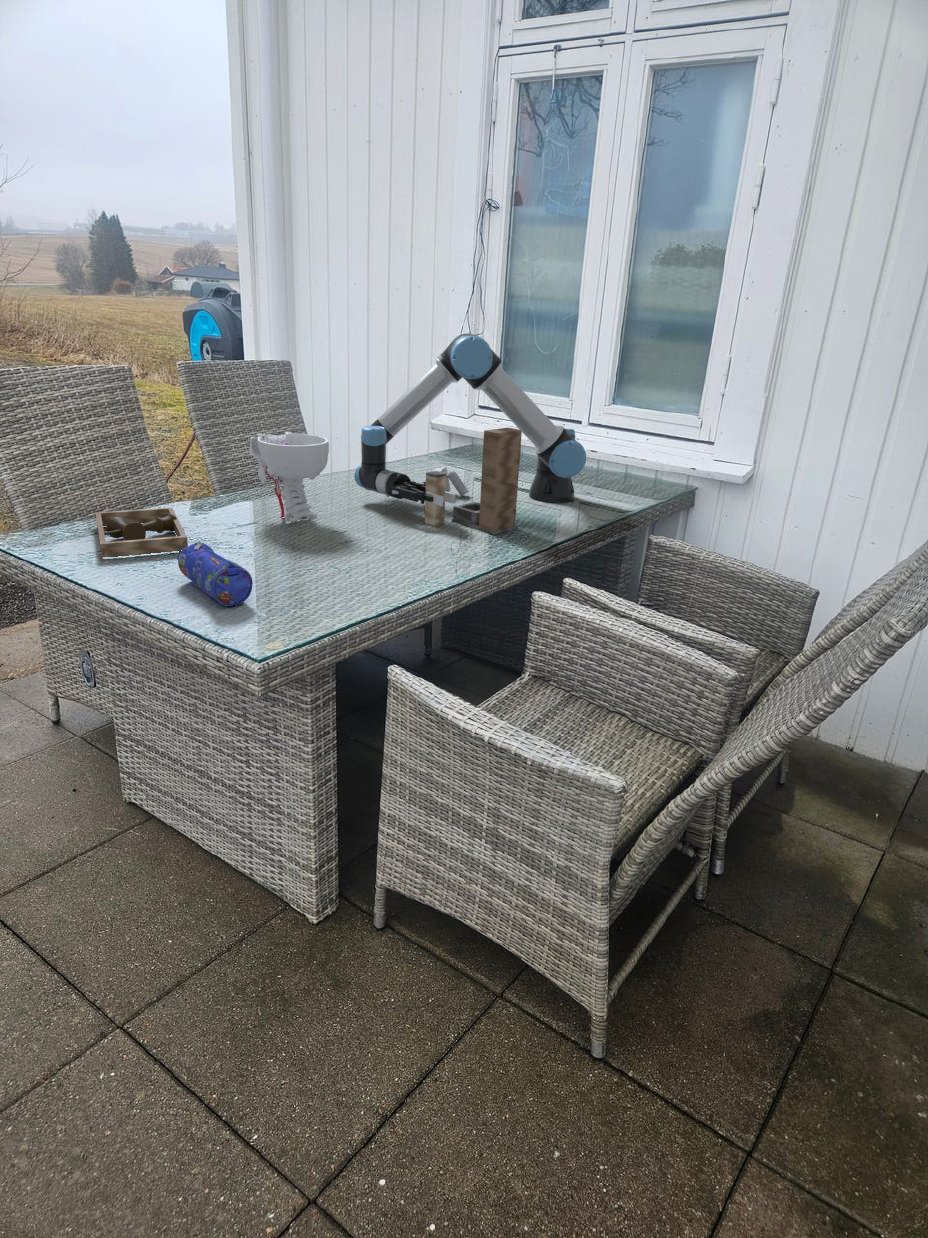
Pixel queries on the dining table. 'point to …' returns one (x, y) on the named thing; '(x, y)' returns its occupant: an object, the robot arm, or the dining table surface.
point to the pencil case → (215, 574)
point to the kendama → (138, 527)
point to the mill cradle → (143, 544)
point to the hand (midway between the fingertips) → (448, 500)
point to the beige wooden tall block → (437, 486)
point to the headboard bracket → (495, 484)
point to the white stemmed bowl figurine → (290, 467)
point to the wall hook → (453, 481)
